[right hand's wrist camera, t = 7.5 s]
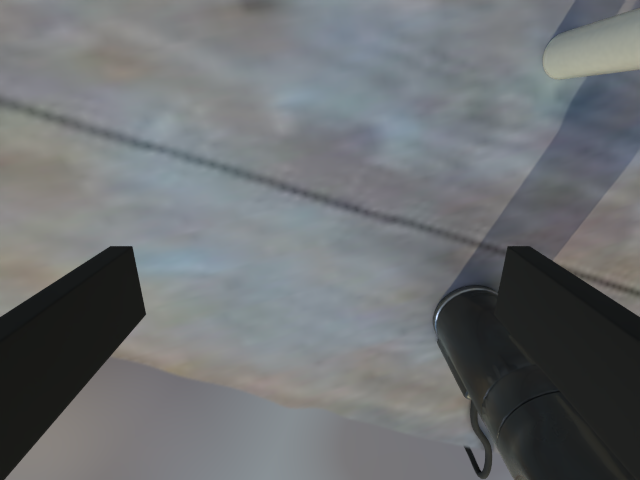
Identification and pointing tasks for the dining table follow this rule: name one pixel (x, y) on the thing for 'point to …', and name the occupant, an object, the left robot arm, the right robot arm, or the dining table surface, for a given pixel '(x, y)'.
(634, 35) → the jar
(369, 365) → the dining table surface
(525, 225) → the dining table surface
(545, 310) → the right robot arm
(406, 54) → the dining table surface
